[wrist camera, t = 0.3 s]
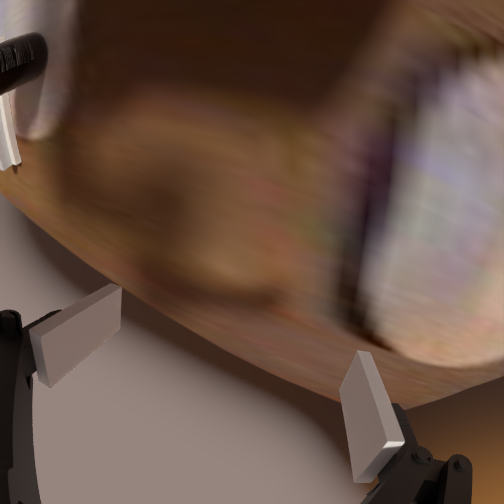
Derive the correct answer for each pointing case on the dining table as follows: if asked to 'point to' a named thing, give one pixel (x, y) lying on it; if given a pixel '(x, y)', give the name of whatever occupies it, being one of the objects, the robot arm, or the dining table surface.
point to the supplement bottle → (21, 60)
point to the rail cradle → (7, 133)
